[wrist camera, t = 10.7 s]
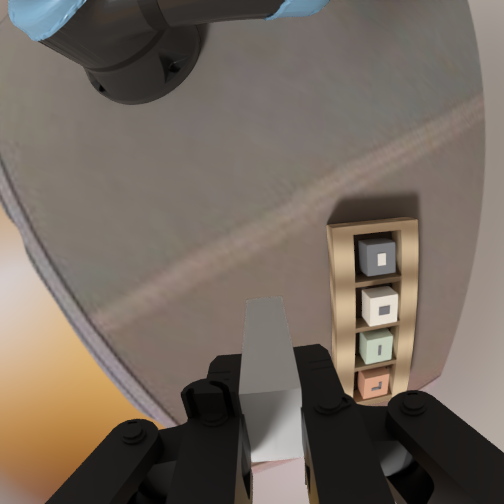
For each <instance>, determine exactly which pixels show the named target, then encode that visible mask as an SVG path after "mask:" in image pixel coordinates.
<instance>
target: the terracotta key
mask: <svg viewBox="0 0 504 504" xmlns="http://www.w3.org/2000/svg"><path fill="white" fill-rule="evenodd" d="M388 382H389V372H388V371H387V369H386V368H385V366H381V367H376V368H371V369H367V370H361V371H358V389H359V391H360V393H361V395H362V397H363V399H366V398H371V397H375V396H380V395H384V394H387V390H388Z"/></svg>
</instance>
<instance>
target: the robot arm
mask: <svg viewBox="0 0 504 504" xmlns="http://www.w3.org/2000/svg"><path fill="white" fill-rule="evenodd" d="M329 1H330V0H9V3H8V13H9V17H10V19H11V21H12V22H13V24H14V25H15V26H16V27H18V28H19V29H21V30H22V31H24V32H25V33H27V35H28V36H29V37H30V38H31V39H32V40H34V41H38V42H40V43H42V44H44V45H45V46H47V47H49V48H51V49H53V50H55V51H57V52H58V53H60V54H62V55H64V56H66V57H67V58H69V59H71V60H73V61H74V62H76V63H78V64H80V65H82V66H83V67H84V69H85V72H86V74H87V76H88V78H89V80H90V82H91V84H92V85H93V87H94V88H95V89H96V90H97V91H98V92H99V93H100V94H102V95H103V96H105V97H107V98H109V99H110V100H112V101H115V102H117V103H121V104H127V105H136V104H143V103H148V102H151V101H154V100H156V99H159V98H161V97H163V96H165V95H166V94H168V93H169V92H171V91H172V90H174V89H175V88H176V87H177V86H179V85H180V84H181V83H182V82H183V81H184V80H185V78H186V77H187V76H188V75H189V73H190V72H191V70H192V69H193V67H194V65H195V63H196V61H197V58H198V55H199V51H200V36H199V32H198V29H197V27H196V24H203V23H211V22H221V21H232V20H246V19H264V20H272V19H275V18H278V17H305V16H310V15H313V14H315V13H317V12H318V11H320V10H321V9H322V8H323V7H325V6H326V5H327V4H328V3H329ZM181 398H182V401H183V404H184V407H185V410H186V414H187V417H188V420H187V422H186V423H184V424H182V425H179V426H176V427H171V428H166V429H161V430H158V428H157V427H156V425H155V424H154V423H153V422H151V421H148V420H146V419H133V420H127V421H125V422H123V423H120V424H119V425H118V426H116V427H115V428H114V429H113V430H112V431H111V432H110V433H109V435H107V436H106V438H105V439H104V440H103V441H102V442H101V443H100V444H99V446H97V448H96V449H95V450H94V451H93V452H92V453H91V454H90V455H89V456H88V457H87V458H86V460H85V461H84V462H83V463H82V464H81V465H80V466H79V467H78V468H77V469H76V471H75V472H74V473H73V474H72V475H71V476H70V477H69V478H68V479H67V480H66V481H65V482H64V484H63V485H62V486H61V487H60V488H59V489H58V490H57V491H56V492H55V493H54V494H53V495H52V497H51V498H50V499H49V500H48V501H47V502H46V503H45V504H252V498H253V497H252V496H253V491H252V490H253V475H252V470H251V459H252V462H261V461H274V460H284V459H293V458H301V457H304V459H305V484H306V485H307V489H308V496H309V503H310V504H395V502H396V504H504V453H503V452H502V451H501V450H500V449H498V448H497V447H496V446H495V445H493V444H492V443H491V442H490V441H488V440H487V439H486V438H485V437H483V436H482V435H481V434H480V433H478V432H477V431H476V430H475V429H473V428H472V427H471V426H470V425H468V424H467V423H466V422H465V421H463V420H462V419H461V418H460V417H458V416H457V415H456V414H454V413H453V412H452V411H451V410H450V409H448V408H447V407H446V406H445V405H443V404H442V403H441V402H440V401H438V400H437V399H436V398H435V397H433V396H432V395H430V394H428V393H426V392H423V391H418V390H410V391H404V392H401V393H398V394H397V395H395V396H394V397H392V398H391V400H390V401H389V403H388V406H364V405H361V404H357V403H356V402H355V401H354V399H353V398H352V397H351V396H350V395H348V394H346V393H345V392H344V389H343V387H342V384H341V382H340V379H339V377H338V374H337V372H336V369H335V367H334V364H333V362H332V360H331V357H330V354H329V352H328V350H327V349H325V348H324V347H323V346H321V345H320V344H314V345H307V346H299V347H293V346H292V342H291V337H290V332H289V328H288V323H287V318H286V314H285V309H284V305H283V300H282V296H275V297H266V298H257V299H247V301H246V313H245V325H244V337H243V348H242V354H233V355H219V356H217V357H216V358H215V359H214V360H213V361H212V362H211V363H210V366H209V370H208V374H207V378H206V379H200V380H198V381H195V382H192V383H190V384H189V385H188V386H186V387H185V388H184V389H183V391H182V392H181Z"/></svg>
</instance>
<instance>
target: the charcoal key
mask: <svg viewBox="0 0 504 504" xmlns="http://www.w3.org/2000/svg"><path fill="white" fill-rule="evenodd" d="M358 247H359V269H360V270H361V271H362V272H363V273H364V274H366V275H367V276H374V275H381V274H388V273H394V272H395V242H394V241H391V240H389V239H387V238H376V239H367V240H359V241H358Z"/></svg>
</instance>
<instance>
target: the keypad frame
mask: <svg viewBox="0 0 504 504" xmlns="http://www.w3.org/2000/svg"><path fill="white" fill-rule="evenodd" d="M326 226H327V239H328V253H329V269H330V288H331V314H332V362H333V364H334V367H335V369H336V372H337V374H338V377H339V379H340V382H341V384H342V387H343V389H344V392H345V393H346V394H348V395H350V396H351V397H352V398H353V399H354V401H355V402H356V403H357V404H361V405H364V406H365V405H370V404H374V403H379V402H383V401H387V400H391V398H392V397H394V396H395V395H397V394H398V393H401V392H404V391H407V385H408V379H409V372H410V365H411V358H412V350H413V341H414V331H415V320H416V307H417V290H418V219H414V218H410V217H400V218H390V219H379V220H369V221H359V222H349V223H339V224H330V225H326ZM384 231H392V241H394V242H395V272H394V273H388V274H381V275H374V276H367V275H366V274H358V275H355V262H354V241H353V235H357V234H366V233H375V232H384ZM390 282H392V289H393V290H394V291H395V292H396V293H398V310H397V322H392V323H387V324H382V325H376V326H371V327H370V326H369V325H368V323H367V322H366V321H365V319H364V318H363V317H359V318H356V303H355V288H358V287H364V286H371V285H378V284H384V283H390ZM390 326H391V329H390V333H391V334H392V335H393V343H392V355H391V359H390V360H385V361H381V362H376V363H371V364H365V362H364V360H363V358H362V357H361V355H358V356H355V333H358V332H364V331H369V330H375V329H380V328H385V327H390ZM386 365H388V366H387V371H388V372H389V382H388V390H387V394H384V395H380V396H375V397H371V398H366V399H363V397H362V395H361V393H360V391H359V389H357V390H353V387H354V372H356V371H361V370H367V369H371V368H376V367H381V366H386Z"/></svg>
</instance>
